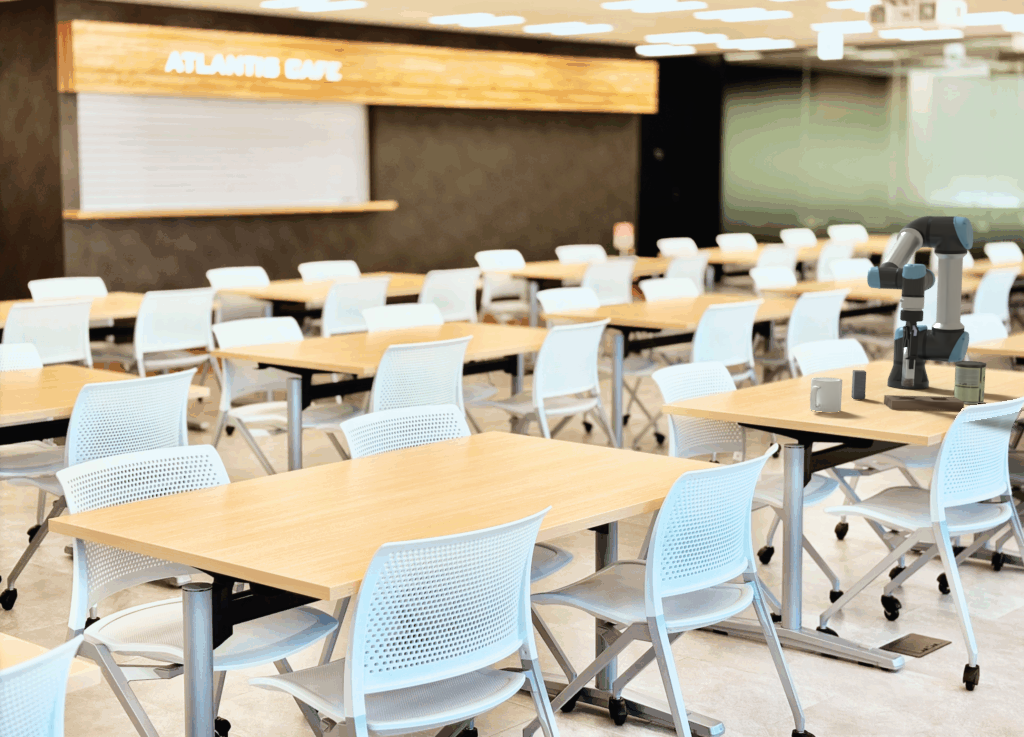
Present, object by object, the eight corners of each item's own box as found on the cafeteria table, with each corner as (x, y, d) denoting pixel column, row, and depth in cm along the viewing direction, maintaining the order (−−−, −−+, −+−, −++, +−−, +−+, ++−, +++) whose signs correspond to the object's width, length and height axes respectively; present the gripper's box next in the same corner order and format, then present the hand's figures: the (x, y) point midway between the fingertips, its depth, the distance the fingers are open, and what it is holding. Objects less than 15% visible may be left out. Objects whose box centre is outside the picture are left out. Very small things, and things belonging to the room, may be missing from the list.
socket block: (883, 403, 461) (884, 395, 461) (954, 405, 459) (954, 396, 459) (891, 409, 449) (891, 400, 449) (963, 411, 448) (963, 402, 447)
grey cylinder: (900, 384, 456) (902, 347, 454) (912, 385, 455) (914, 347, 454) (902, 386, 452) (905, 348, 450) (914, 386, 451) (917, 348, 450)
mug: (827, 415, 435) (828, 383, 434) (799, 411, 442) (800, 380, 440) (846, 410, 445) (847, 379, 444) (818, 407, 452) (820, 376, 450)
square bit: (851, 397, 474) (852, 370, 472) (862, 398, 473) (864, 370, 472) (853, 399, 470) (854, 371, 468) (864, 399, 469) (866, 371, 468)
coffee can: (950, 399, 472) (952, 360, 471) (979, 400, 472) (982, 361, 470) (956, 404, 462) (959, 364, 460) (987, 405, 461) (989, 365, 459)
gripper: (895, 307, 459) (891, 374, 462) (906, 311, 442) (902, 380, 445) (917, 307, 458) (913, 374, 461) (929, 311, 442) (925, 381, 444)
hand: (908, 377), depth 453 cm, fingers closed on grey cylinder, 4 cm apart
